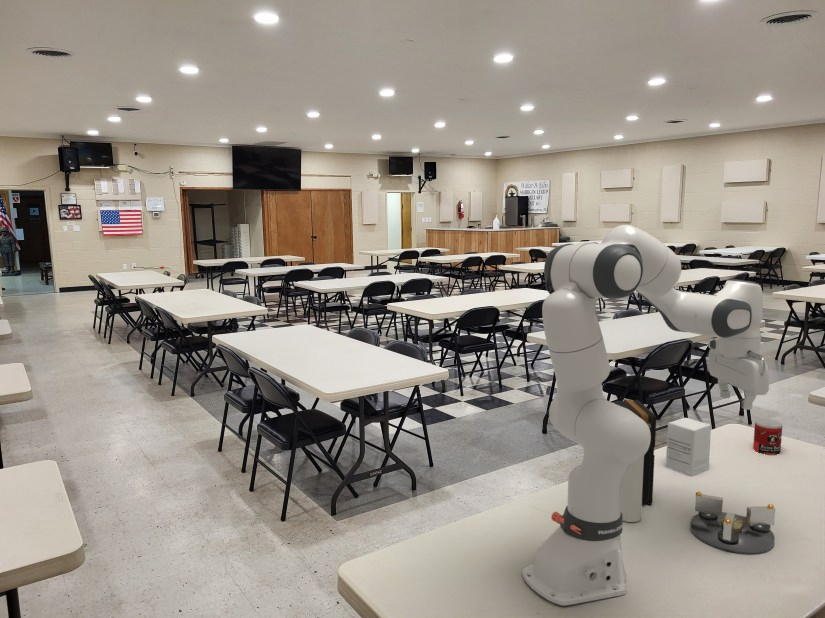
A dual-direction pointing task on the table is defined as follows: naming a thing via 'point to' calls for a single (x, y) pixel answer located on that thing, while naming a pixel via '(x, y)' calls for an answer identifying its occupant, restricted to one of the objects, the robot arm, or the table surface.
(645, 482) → the voltmeter
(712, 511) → the knob left
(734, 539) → the knob near
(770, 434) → the canned food
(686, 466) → the supplement box
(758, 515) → the grey lever knob
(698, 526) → the plate
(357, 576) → the table surface
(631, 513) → the paper towel roll
